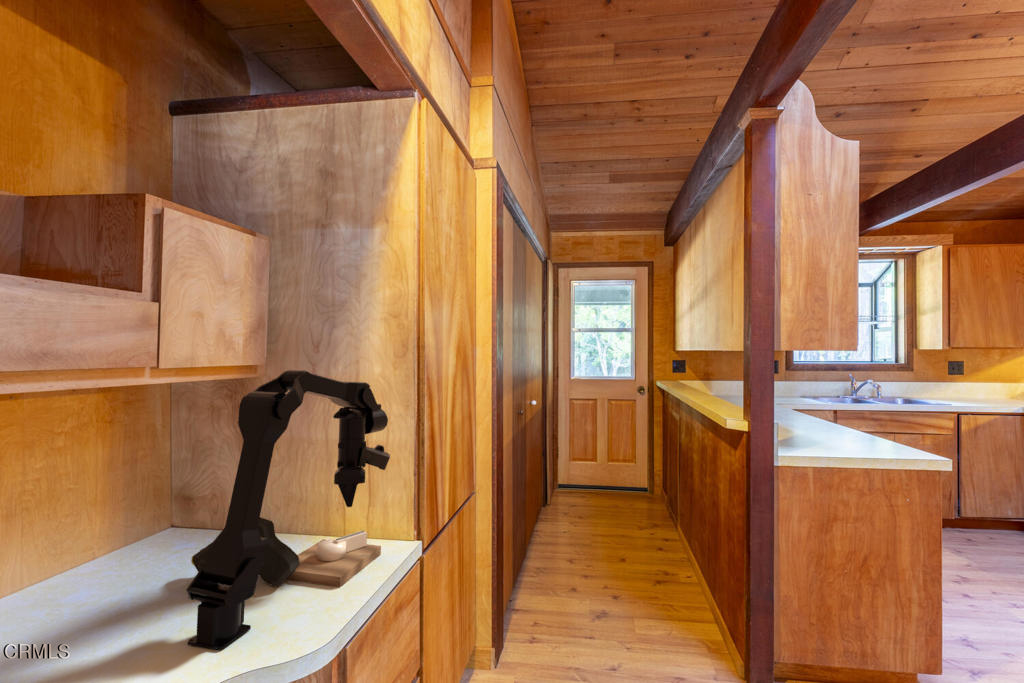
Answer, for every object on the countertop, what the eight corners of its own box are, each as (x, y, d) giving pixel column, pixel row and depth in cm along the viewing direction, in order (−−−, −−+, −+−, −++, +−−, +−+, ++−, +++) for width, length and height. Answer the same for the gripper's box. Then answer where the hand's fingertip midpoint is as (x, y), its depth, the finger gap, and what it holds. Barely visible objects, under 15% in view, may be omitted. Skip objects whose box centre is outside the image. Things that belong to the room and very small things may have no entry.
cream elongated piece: (326, 563, 104) (326, 548, 104) (311, 556, 107) (311, 541, 108) (372, 547, 113) (372, 533, 113) (356, 541, 116) (357, 527, 117)
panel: (340, 587, 98) (341, 576, 98) (274, 578, 101) (274, 568, 101) (381, 554, 115) (381, 545, 115) (323, 547, 118) (323, 538, 118)
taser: (294, 575, 96) (254, 510, 98) (225, 622, 98) (186, 558, 99) (305, 566, 101) (267, 504, 102) (239, 611, 102) (202, 549, 103)
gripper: (390, 443, 105) (388, 517, 105) (386, 430, 123) (384, 493, 123) (335, 444, 102) (332, 520, 102) (339, 431, 120) (337, 496, 119)
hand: (349, 506), depth 111 cm, fingers closed
